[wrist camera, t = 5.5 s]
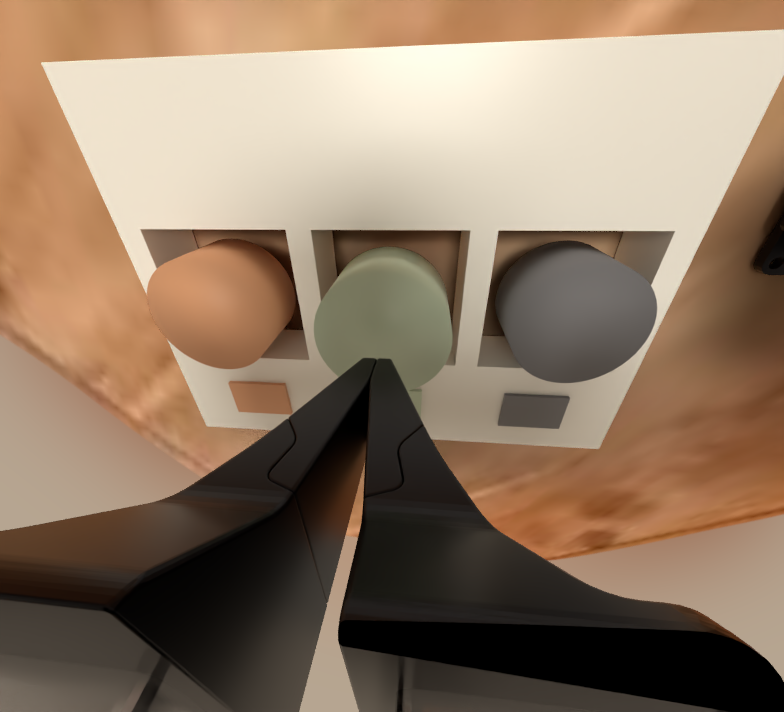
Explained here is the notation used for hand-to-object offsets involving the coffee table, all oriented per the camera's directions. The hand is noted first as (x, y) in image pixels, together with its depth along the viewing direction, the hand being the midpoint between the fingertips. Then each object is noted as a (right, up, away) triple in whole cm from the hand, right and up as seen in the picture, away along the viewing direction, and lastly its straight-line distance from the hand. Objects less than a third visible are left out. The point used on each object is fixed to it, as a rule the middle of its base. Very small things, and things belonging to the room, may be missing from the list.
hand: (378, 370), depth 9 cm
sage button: (0, +3, +4) cm, 5 cm away
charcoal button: (+7, +3, +4) cm, 9 cm away
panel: (+1, +4, +7) cm, 8 cm away
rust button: (-7, +4, +6) cm, 9 cm away
